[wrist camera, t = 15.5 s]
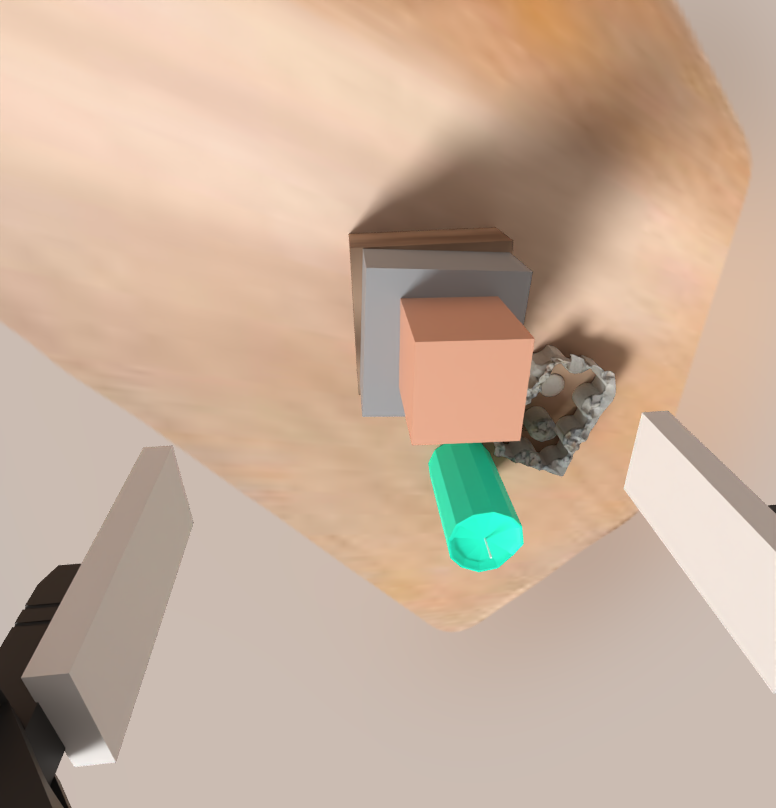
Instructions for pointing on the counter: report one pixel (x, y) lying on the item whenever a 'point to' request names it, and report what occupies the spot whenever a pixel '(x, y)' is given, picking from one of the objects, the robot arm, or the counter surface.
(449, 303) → the terracotta block
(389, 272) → the gray tower middle block
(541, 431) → the egg carton
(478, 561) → the candle
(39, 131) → the counter surface
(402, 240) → the tower base
